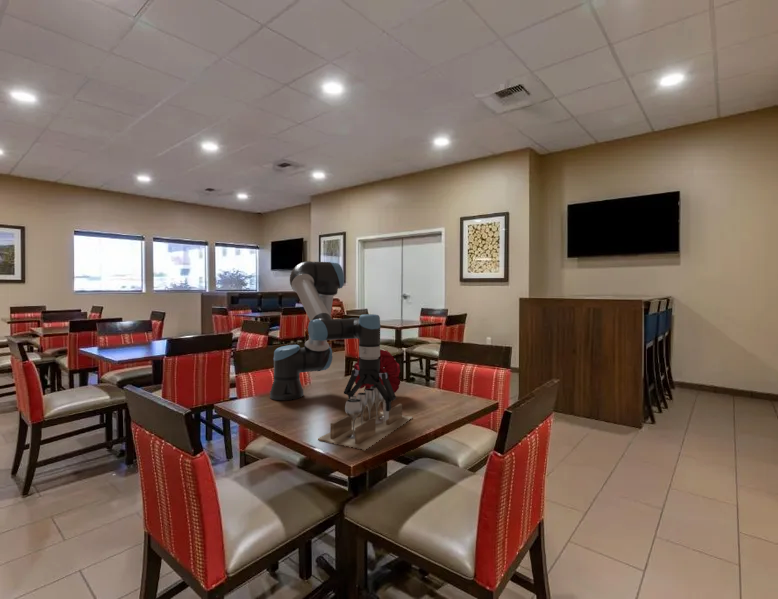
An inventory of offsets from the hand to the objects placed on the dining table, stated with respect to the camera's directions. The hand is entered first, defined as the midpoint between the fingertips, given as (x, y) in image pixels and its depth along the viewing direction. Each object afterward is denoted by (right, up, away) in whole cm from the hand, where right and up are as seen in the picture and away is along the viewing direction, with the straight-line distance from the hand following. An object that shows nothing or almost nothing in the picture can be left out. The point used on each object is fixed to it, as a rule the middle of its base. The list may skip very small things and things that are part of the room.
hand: (369, 417), depth 145 cm
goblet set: (0, -4, 0) cm, 4 cm away
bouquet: (+2, -4, +46) cm, 46 cm away
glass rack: (0, -4, 0) cm, 4 cm away
